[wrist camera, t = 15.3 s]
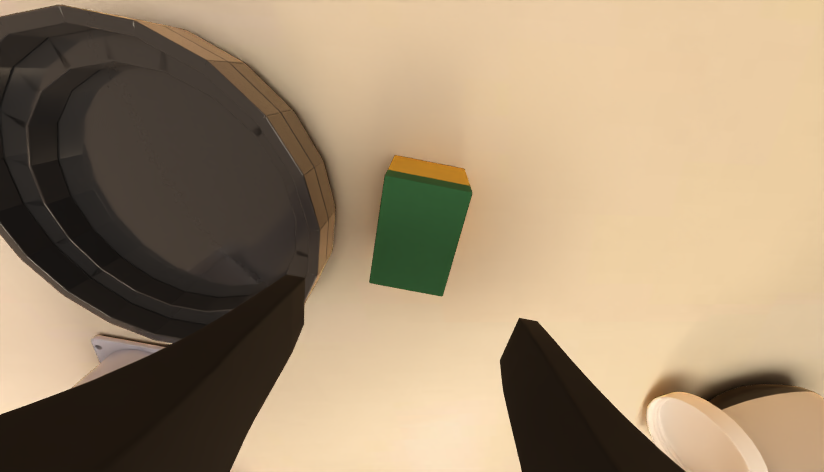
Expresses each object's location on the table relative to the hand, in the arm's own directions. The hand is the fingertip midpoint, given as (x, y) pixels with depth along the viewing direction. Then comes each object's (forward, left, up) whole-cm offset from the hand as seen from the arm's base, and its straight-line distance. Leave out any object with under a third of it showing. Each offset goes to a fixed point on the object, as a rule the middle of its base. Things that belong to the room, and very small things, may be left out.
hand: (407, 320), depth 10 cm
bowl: (-2, +14, -9) cm, 17 cm away
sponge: (0, 0, -9) cm, 9 cm away
